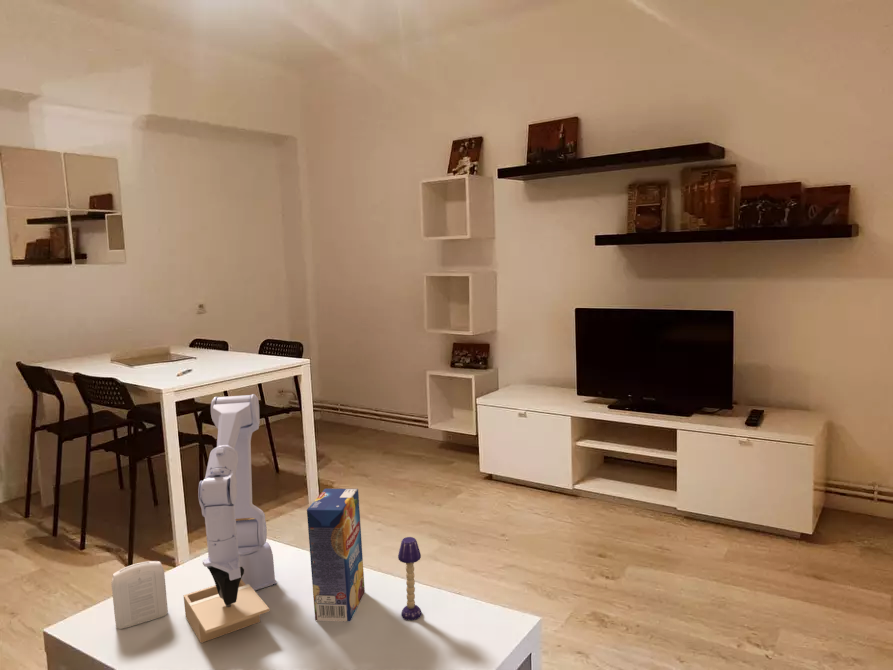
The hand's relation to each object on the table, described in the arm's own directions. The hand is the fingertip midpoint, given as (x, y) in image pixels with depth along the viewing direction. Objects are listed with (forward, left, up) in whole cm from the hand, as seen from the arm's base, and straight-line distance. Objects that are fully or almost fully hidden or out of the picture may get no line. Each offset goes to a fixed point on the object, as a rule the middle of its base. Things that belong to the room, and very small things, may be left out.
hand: (227, 599), depth 136 cm
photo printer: (+14, -17, -7) cm, 23 cm away
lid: (0, 0, -2) cm, 2 cm away
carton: (0, -6, -7) cm, 9 cm away
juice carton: (-22, +5, -7) cm, 24 cm away
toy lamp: (-32, +18, -7) cm, 37 cm away
